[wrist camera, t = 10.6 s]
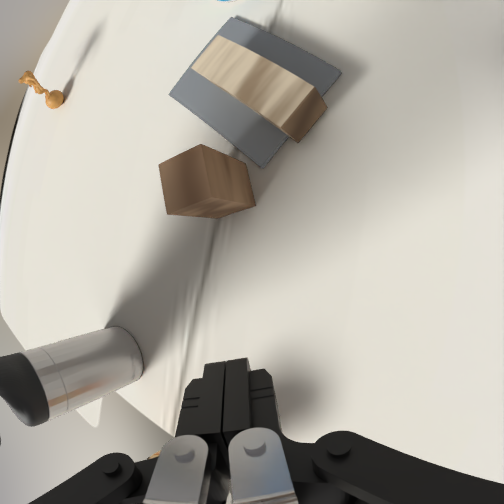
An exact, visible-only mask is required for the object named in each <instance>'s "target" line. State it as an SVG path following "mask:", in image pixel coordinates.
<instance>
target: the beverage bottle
mask: <svg viewBox="0 0 504 504" xmlns="http://www.w3.org/2000/svg"><path fill="white" fill-rule="evenodd" d="M217 1H220V2H232V1H236V0H217Z"/></svg>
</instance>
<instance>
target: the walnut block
mask: <svg viewBox="0 0 504 504" xmlns="http://www.w3.org/2000/svg"><path fill="white" fill-rule="evenodd" d="M159 171H160V177H161V183H162V189H163V195H164V200H165V206H166V211H167V214H169V215H181V216H194V217H206V218H220V217H223V216H226V215H229V214H232V213H235V212H239V211H242V210H245V209H248V208H251V207H254V206H256V204H255V200H254V196H253V192H252V188H251V184H250V179H249V175H248V171H247V167H246V163H243V162H241V161H239V160H237V159H234V158H232V157H230V156H228V155H225V154H223V153H221V152H219V151H216V150H214V149H212V148H209V147H207V146H205V145H202V144H200V145H198V146H195V147H193V148H191V149H189V150H187V151H185V152H183V153H181V154H179V155H177V156H175V157H173V158H171V159H169V160H167V161H165V162H163V163H161V164H159Z"/></svg>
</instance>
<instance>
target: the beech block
mask: <svg viewBox="0 0 504 504" xmlns="http://www.w3.org/2000/svg"><path fill="white" fill-rule="evenodd" d="M191 68H192V69H193V70H195V71H196V72H197V73H199V74H200V75H202V76H203V77H205V78H206V79H207V80H209V81H210V82H212V83H213V84H215V85H216V86H218V87H219V88H221V89H222V90H224V91H225V92H227V93H228V94H230V95H231V96H233V97H234V98H236V99H237V100H239V101H240V102H242V103H243V104H245V105H246V106H248V107H249V108H251V109H252V110H253V111H255V112H256V113H258V114H259V115H261V116H262V117H263V118H265V119H266V120H268V121H269V122H270V123H272V124H273V125H275V126H276V127H277V128H279V129H280V130H281V131H283V132H284V133H285V134H287V135H288V136H289V137H291V138H292V139H293V140H295V141H296V142H297V143H299V142H300V140H301V139H302V138H303V137H304V135H305V134H306V133H307V132H308V131H309V129H310V128H311V127H312V126H313V125H314V123H315V122H316V121H317V120H318V119H319V117H320V116H321V115H322V114H323V113H324V111H325V110H326V109H327V106H326V104H325V102H324V101H323V99H322V97H321V95H320V94H319V92H318V90H317V89H316V88H315V87H314V86H312V85H311V84H309V83H307V82H306V81H304V80H303V79H301V78H299V77H298V76H296V75H294V74H293V73H291V72H289V71H287V70H286V69H284V68H282V67H280V66H279V65H277V64H275V63H273V62H271V61H270V60H268V59H266V58H264V57H262V56H260V55H258V54H256V53H254V52H253V51H251V50H249V49H247V48H245V47H243V46H241V45H239V44H237V43H235V42H232V41H230V40H228V39H226V38H224V37H222V36H220V35H217V36H216V38H215V39H214V40H213V41H212V42H211V43H210V45H209V46H208V47H207V48H206V49H205V51H204V52H203V53H202V54H201V56H200V57H199V58H198V59H197V61H196V62H195V63H194V64H193V66H192V67H191Z"/></svg>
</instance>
